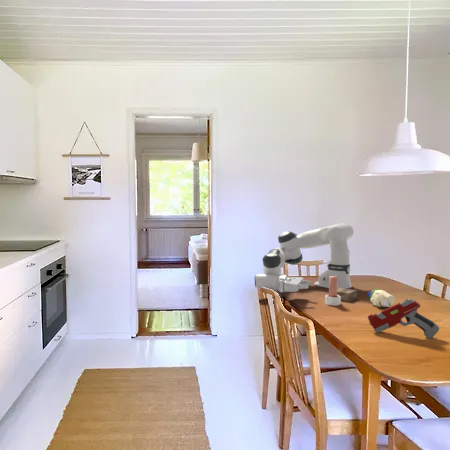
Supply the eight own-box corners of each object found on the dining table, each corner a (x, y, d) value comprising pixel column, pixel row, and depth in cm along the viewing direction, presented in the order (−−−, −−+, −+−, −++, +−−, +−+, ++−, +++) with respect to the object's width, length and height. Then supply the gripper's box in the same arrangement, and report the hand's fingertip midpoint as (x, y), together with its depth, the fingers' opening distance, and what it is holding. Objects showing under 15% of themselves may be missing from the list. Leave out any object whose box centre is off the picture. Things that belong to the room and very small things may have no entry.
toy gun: (389, 353, 172) (366, 315, 174) (442, 331, 164) (417, 292, 166) (389, 356, 169) (366, 318, 171) (443, 334, 160) (417, 294, 163)
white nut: (323, 305, 213) (323, 296, 213) (329, 302, 219) (329, 293, 219) (336, 307, 209) (336, 298, 208) (342, 304, 214) (342, 295, 214)
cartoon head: (389, 316, 202) (362, 305, 221) (403, 305, 204) (375, 294, 223) (382, 302, 200) (356, 292, 218) (396, 291, 202) (369, 281, 221)
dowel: (327, 303, 214) (327, 276, 213) (330, 302, 217) (331, 275, 216) (334, 305, 211) (335, 277, 210) (338, 303, 214) (338, 276, 213)
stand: (331, 299, 224) (331, 290, 224) (339, 296, 232) (339, 287, 231) (349, 302, 218) (349, 293, 217) (356, 299, 225) (357, 290, 225)
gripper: (287, 284, 232) (312, 286, 227) (279, 293, 213) (306, 295, 208) (287, 273, 232) (312, 275, 227) (279, 280, 212) (306, 282, 208)
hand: (309, 284), depth 217 cm, fingers open, 8 cm apart
